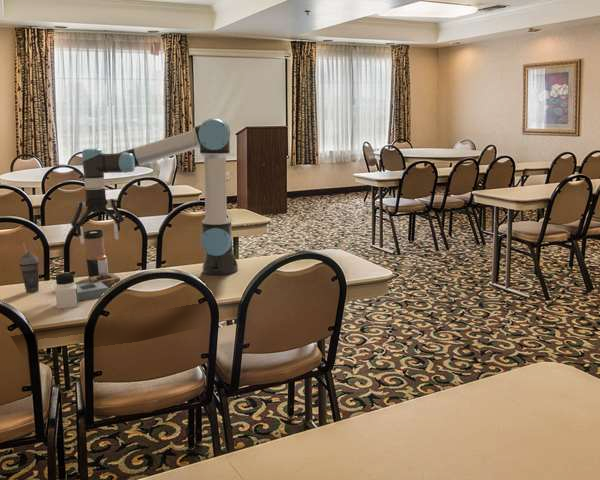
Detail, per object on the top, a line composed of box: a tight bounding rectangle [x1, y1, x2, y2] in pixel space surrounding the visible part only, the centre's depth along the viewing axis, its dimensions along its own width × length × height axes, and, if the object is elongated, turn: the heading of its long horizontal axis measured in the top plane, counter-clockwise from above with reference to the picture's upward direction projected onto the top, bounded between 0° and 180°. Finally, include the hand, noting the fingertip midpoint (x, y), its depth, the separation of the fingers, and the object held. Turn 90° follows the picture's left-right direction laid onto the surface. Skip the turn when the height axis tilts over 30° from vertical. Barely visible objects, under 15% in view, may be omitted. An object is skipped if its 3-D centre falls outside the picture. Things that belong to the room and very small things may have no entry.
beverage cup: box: [18, 241, 40, 294], centre depth 246 cm, size 7×7×20 cm
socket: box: [76, 281, 109, 302], centre depth 241 cm, size 12×12×3 cm
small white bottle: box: [97, 254, 109, 280], centre depth 253 cm, size 4×4×12 cm
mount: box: [88, 273, 121, 288], centre depth 254 cm, size 10×10×3 cm
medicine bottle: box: [54, 271, 79, 310], centre depth 227 cm, size 7×7×12 cm
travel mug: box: [83, 229, 106, 277], centre depth 265 cm, size 8×8×20 cm
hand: (99, 241), depth 251 cm, fingers open, 13 cm apart
